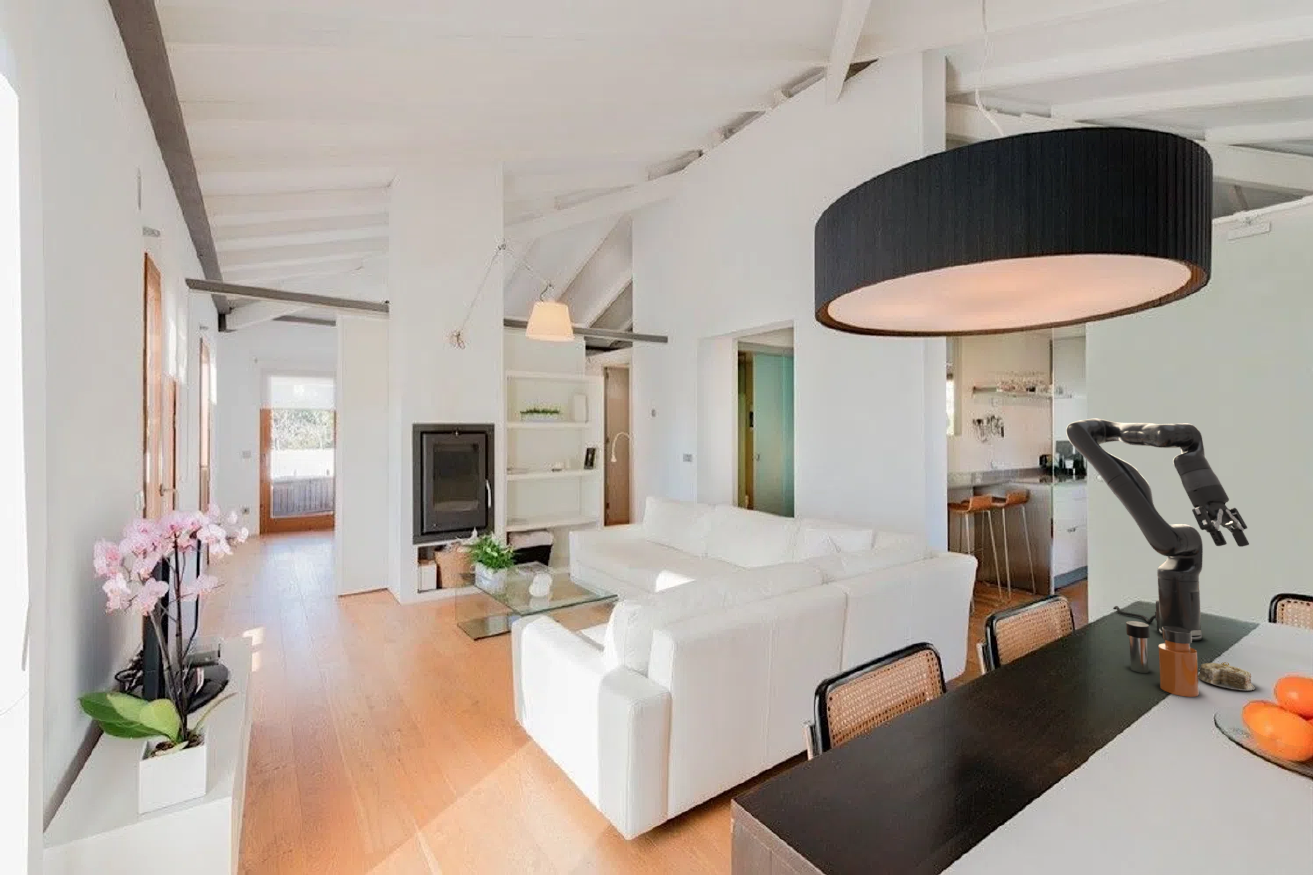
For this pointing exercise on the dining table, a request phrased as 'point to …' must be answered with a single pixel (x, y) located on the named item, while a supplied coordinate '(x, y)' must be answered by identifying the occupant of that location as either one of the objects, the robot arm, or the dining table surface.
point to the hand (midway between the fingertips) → (1233, 545)
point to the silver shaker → (1138, 645)
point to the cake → (1226, 676)
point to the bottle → (1178, 662)
